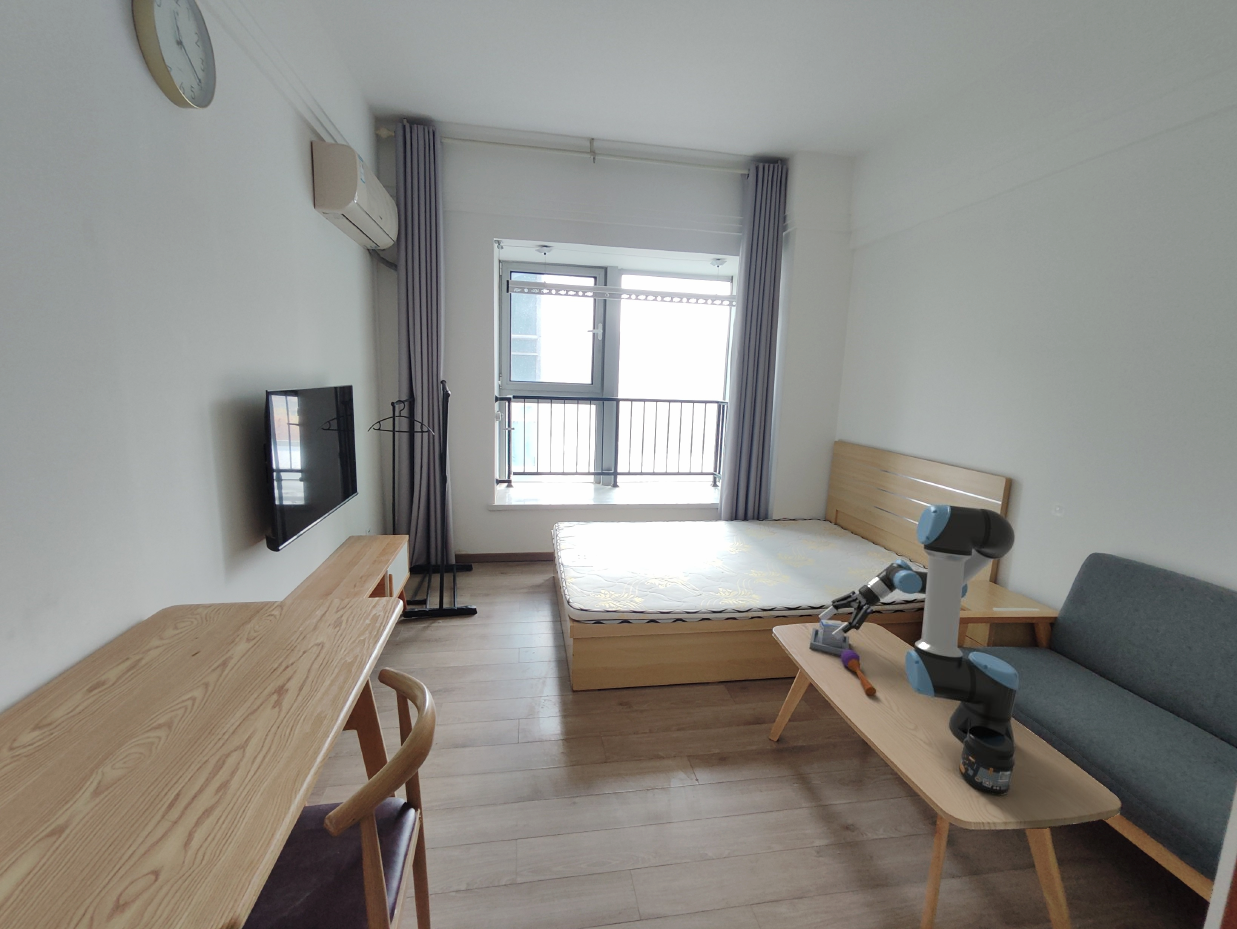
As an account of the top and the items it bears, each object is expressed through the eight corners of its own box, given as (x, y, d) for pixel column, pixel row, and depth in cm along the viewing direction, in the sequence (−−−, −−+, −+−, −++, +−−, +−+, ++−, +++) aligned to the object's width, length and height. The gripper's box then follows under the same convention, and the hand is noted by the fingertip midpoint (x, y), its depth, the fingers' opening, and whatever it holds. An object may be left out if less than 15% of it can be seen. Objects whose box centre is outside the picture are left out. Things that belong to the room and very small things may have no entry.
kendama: (860, 684, 162) (838, 647, 181) (861, 700, 163) (838, 661, 183) (880, 682, 161) (855, 645, 181) (880, 698, 163) (855, 660, 182)
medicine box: (838, 641, 195) (840, 620, 193) (842, 648, 190) (845, 626, 189) (816, 640, 195) (819, 619, 194) (821, 646, 191) (824, 624, 189)
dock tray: (847, 658, 184) (848, 651, 184) (809, 648, 190) (810, 642, 189) (848, 642, 196) (849, 636, 196) (812, 633, 201) (813, 627, 201)
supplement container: (962, 759, 136) (970, 718, 134) (1011, 781, 129) (1020, 739, 127) (953, 779, 129) (961, 736, 127) (1005, 805, 122) (1015, 760, 120)
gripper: (897, 614, 177) (847, 651, 180) (864, 585, 202) (821, 619, 204) (883, 598, 176) (834, 636, 179) (853, 572, 201) (810, 605, 204)
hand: (827, 627), depth 192 cm, fingers open, 13 cm apart
